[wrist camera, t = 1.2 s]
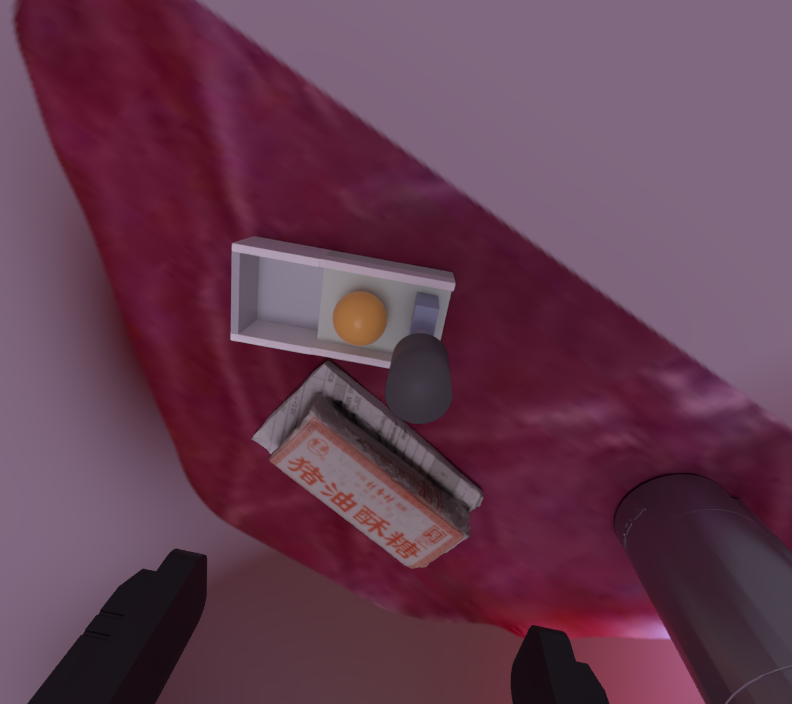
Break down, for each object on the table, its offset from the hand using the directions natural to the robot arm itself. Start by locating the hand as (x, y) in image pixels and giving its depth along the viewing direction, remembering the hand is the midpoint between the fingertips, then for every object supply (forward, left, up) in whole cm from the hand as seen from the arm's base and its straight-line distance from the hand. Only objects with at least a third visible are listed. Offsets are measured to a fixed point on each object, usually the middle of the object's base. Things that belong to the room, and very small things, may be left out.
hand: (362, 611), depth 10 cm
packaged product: (+1, +13, -23) cm, 26 cm away
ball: (+3, -1, -18) cm, 19 cm away
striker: (-1, -1, -20) cm, 20 cm away
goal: (+9, -1, -22) cm, 24 cm away
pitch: (+2, -1, -22) cm, 22 cm away
